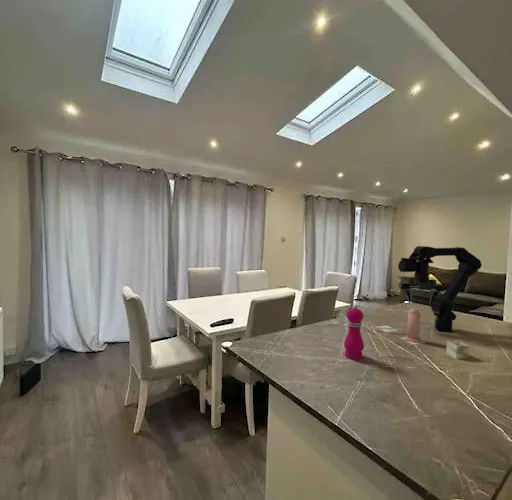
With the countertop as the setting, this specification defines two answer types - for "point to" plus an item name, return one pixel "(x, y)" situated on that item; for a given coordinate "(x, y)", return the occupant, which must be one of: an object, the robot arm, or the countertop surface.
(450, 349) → the die
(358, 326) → the pepper mill
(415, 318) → the tan knob handle
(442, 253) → the robot arm
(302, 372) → the countertop surface
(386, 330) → the board
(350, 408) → the countertop surface
